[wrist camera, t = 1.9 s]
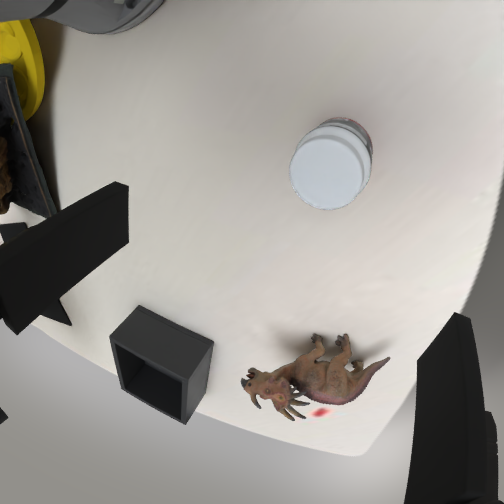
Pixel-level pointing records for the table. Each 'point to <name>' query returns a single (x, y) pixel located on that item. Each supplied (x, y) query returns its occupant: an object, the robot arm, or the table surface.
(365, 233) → the table surface
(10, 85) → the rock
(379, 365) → the dinosaur figurine
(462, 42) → the table surface
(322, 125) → the pill bottle
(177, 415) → the basket
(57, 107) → the table surface
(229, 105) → the table surface
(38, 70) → the decorative medallion
